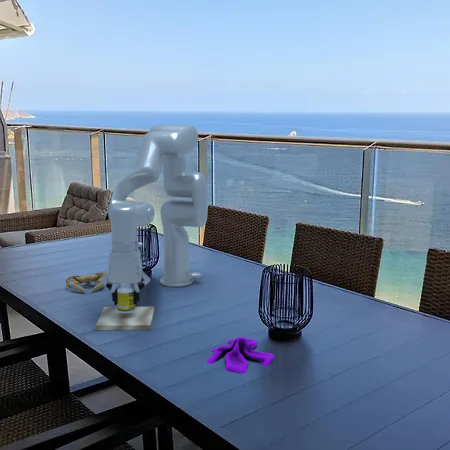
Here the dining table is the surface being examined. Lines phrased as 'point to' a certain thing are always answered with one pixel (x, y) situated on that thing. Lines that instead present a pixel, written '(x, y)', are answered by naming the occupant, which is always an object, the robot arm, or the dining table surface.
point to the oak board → (125, 319)
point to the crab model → (85, 281)
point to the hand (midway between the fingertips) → (126, 303)
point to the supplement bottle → (125, 298)
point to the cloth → (240, 355)
